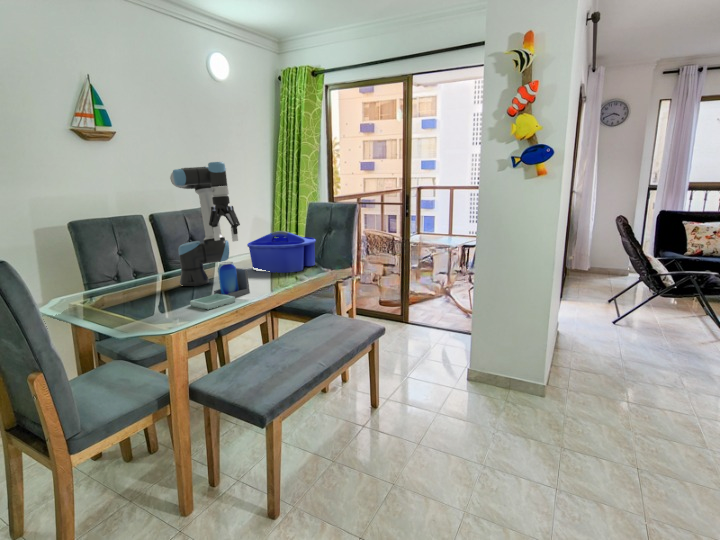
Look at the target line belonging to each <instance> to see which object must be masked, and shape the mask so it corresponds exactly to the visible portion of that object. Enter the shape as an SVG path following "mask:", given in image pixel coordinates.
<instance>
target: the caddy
mask: <svg viewBox="0 0 720 540" xmlns="http://www.w3.org/2000/svg"><path fill="white" fill-rule="evenodd" d="M315 243H317V239H315V238H314V237H309V236H308V237H307V236H300V235H297V234H295V233H292V232H289V231H285V230H276V231H273V232H270V233H268V234H265V235H264V236H261V237H259V238H257V239H254V240H252V241H249V242H248V243H247V245H246V246H247V247H248V248H249V255H250V259H251V266H252V268H253V267H254V268H258V269H262V270H266V271H270V272H269V273H276V272H277V273H280V274H281V273H284V274H285V273H287V274H288V273H296V272H298V273H299V272H302V271H303V270H304V267H313V266H315V265H316V252H315V246H316V245H315Z"/></svg>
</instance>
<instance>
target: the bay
mask: <svg viewBox="0 0 720 540" xmlns="http://www.w3.org/2000/svg"><path fill="white" fill-rule="evenodd" d="M236 273H237V281H238V289H239V291H235V292H232V293H228V294H229V296H234V297H235V298H238V297H241V296H245V295H247V294H251V291H250V284H249V276H248V275H249V274H248V269H247V268H239V267H236ZM217 293H218V294H221V290H220V288H219V289H215V290H213V294H217Z"/></svg>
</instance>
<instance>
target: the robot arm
mask: <svg viewBox="0 0 720 540" xmlns="http://www.w3.org/2000/svg"><path fill="white" fill-rule="evenodd" d="M226 171H227V168H226V165H225V162H223V161H212V162H208V163H207V166H196V167H194V166H193V167H182V168H177V169H173V170H172V172H171V173H170V176H169V179H170V182H171V184H172V185H173V186H175V187H176V188H178V189H183V190H192V189H193V190H194V192H195V193H196V194H197V195H198V197H199V204H200V210H201V216H202V224H203V228H204V234H205V237H204V238H203V240H202V241H203V243H201V241H200V240H195V241H190V242H186V243H183V244H180V245H179V246H178V248H177V249H178V258H179V263H180V271H181V274H180V279H179V285H180V284H181V285H183V286H194V287H198V286H199V287H200V286H203V285H207V284H209V282H210V280H209V276H208V275H207V273H206V271H205V268H204V265H206V264H213V263H222V262H227V261H228V259H229V256H230V243H229V240H226V239H225V236H224V235H222V230H221V225H220V221H221V220H220V219H221V217H224V218H225V219H226V221H228V223H229V225H230V232H231V239H232V243H233V242H238V241H239V236H238V235H239V234H238V227H239V226H241V223H240V220H239V218H238V216H237V214H236V212H235V208H234V206H233V205H229V204H230V196H229V194H230V193H229V188H228V180H227V179H228V178H227V172H226Z"/></svg>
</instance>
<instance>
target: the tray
mask: <svg viewBox="0 0 720 540" xmlns="http://www.w3.org/2000/svg"><path fill="white" fill-rule="evenodd" d="M189 302H190V307H193V308H196V309H197V308H198V309H200V310H201V309H202V310H205V309H207V310H206V311H210V310H209V309H211V310H213V309H212V308H214V307H217V306H221V305H224V304H227V305H230V304H229V303H231V304H234V303H236V297H234V296H228V295H223V294H218V293H217V294H214V293H213V294H210V295H207V296H203V297H200V298H195V299H192V300H190V301H189ZM233 302H234V303H233ZM224 306H225V305H224ZM221 307H222V306H221ZM217 308H218V307H217ZM214 309H215V308H214Z"/></svg>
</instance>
